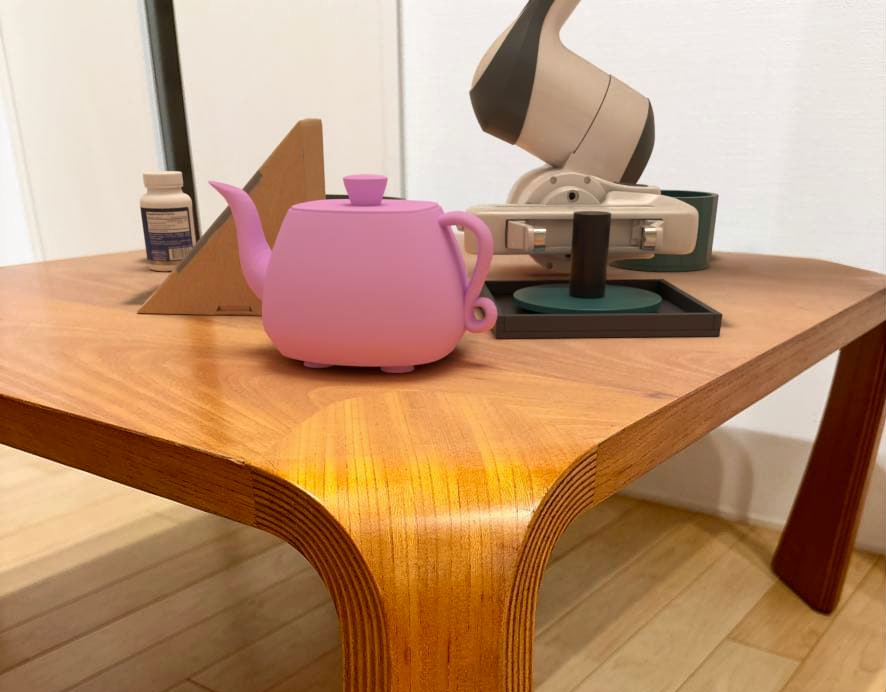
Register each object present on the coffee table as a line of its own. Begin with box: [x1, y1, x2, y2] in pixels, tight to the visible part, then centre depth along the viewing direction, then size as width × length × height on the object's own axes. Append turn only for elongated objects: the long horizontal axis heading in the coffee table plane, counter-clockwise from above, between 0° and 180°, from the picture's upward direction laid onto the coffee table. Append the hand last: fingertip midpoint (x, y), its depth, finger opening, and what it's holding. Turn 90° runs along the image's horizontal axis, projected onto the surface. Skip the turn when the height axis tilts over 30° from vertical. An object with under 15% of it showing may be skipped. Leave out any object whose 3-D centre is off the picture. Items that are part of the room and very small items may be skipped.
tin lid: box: [513, 211, 662, 314], centre depth 75 cm, size 12×12×8 cm
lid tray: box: [478, 278, 723, 339], centre depth 76 cm, size 17×16×2 cm
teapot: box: [207, 173, 497, 374], centre depth 61 cm, size 20×13×12 cm, turn 76°
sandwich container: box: [136, 117, 326, 316], centre depth 77 cm, size 9×15×15 cm, turn 86°
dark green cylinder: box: [607, 189, 720, 273], centre depth 102 cm, size 11×11×8 cm
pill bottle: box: [139, 170, 198, 272], centre depth 98 cm, size 5×5×10 cm
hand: (595, 240), depth 73 cm, fingers open, 8 cm apart
